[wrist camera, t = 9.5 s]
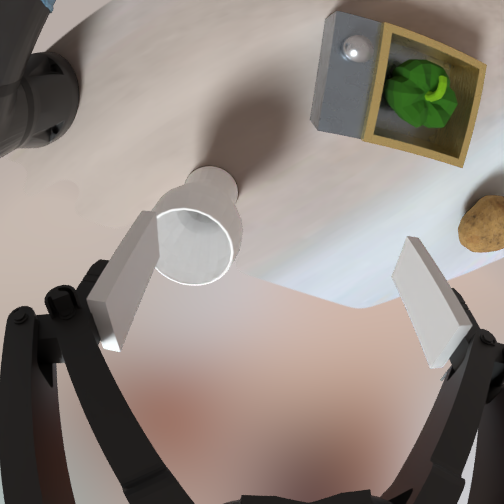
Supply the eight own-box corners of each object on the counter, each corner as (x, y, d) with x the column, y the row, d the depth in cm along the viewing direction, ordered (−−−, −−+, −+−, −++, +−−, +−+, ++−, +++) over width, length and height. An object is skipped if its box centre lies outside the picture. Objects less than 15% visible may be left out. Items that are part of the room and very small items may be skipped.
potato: (446, 194, 43) (471, 218, 36) (509, 180, 40) (536, 201, 33) (445, 245, 48) (466, 273, 41) (505, 228, 45) (528, 252, 38)
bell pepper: (411, 131, 37) (446, 152, 29) (364, 95, 35) (392, 107, 27) (441, 85, 33) (483, 96, 24) (396, 46, 31) (432, 46, 23)
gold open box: (309, 119, 38) (320, 134, 31) (325, 18, 31) (340, 7, 23) (435, 149, 39) (466, 171, 31) (454, 60, 31) (491, 65, 24)
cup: (195, 142, 41) (162, 182, 28) (262, 181, 44) (260, 237, 31) (163, 202, 46) (125, 260, 34) (224, 236, 49) (209, 304, 36)
